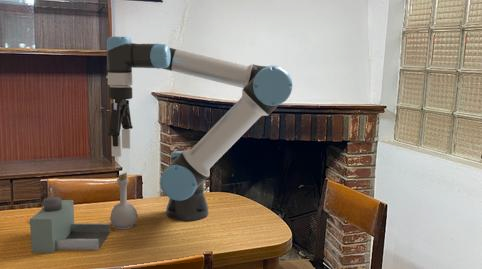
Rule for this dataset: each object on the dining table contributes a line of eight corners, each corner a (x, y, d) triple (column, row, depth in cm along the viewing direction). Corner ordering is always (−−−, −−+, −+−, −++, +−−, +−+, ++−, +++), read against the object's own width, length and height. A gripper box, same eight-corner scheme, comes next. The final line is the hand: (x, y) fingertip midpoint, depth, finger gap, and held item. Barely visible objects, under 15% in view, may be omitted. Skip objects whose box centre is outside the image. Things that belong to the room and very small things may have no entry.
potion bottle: (134, 230, 145) (132, 176, 143) (106, 230, 146) (105, 176, 143) (140, 221, 154) (139, 170, 151) (114, 221, 154) (113, 169, 151)
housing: (74, 229, 145) (72, 190, 143) (53, 252, 128) (50, 208, 126) (55, 229, 145) (53, 190, 143) (31, 252, 127) (29, 208, 125)
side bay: (110, 232, 144) (110, 223, 143) (97, 250, 130) (97, 240, 130) (72, 232, 143) (72, 223, 143) (55, 250, 130) (55, 240, 129)
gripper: (117, 84, 155) (119, 145, 158) (96, 88, 130) (99, 160, 134) (139, 84, 155) (140, 145, 158) (122, 88, 131) (124, 160, 134)
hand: (121, 152), depth 146 cm, fingers open, 13 cm apart
